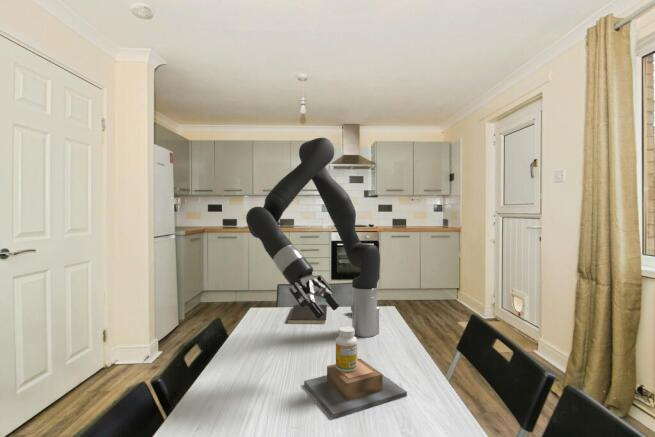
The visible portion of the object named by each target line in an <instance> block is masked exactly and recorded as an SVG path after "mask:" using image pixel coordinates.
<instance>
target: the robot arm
mask: <svg viewBox="0 0 655 437" xmlns="http://www.w3.org/2000/svg"><path fill="white" fill-rule="evenodd" d="M298 156H299V159H300V163H299V165H297V166H296V167H295V168H294V169H293V170H291V171H290V172H289V173H287V174H286V175H285V176H284V177H282V178H281V179H280V180H279V181H278V182H277V183H276V185H274V187H273V188H272V189H271V190H270V192H268V194H267V195H266V197H265V199H264V204H263V206H254V207H251V208H250V209H249V210H248V211H247V213H246V216H245V222H246V224H247V227H248V230H249V233H250V234H251V235H252V236H253V237H254V238H256V239H259V241H261V243H262V246H263V248H264V250H265V251H266V253H267V255H268V256H269V257H270V259H271V260H272V262H274V264H275V266H276V267H277V269H278V270H279V272H280V273H281V274H282V276H283V277H284V278H285V280H286V281H287V282H288V283H289V285H290V287H289V289H288V290H289V292H290V293H291V295H292V296H293V297H294V299H295V300H296V302H297V303H298V305H300V306H301V307H304V306H306V307H307V308H310V310H311V311H312V312H313V313H314V315H315V316H316V317H317V318H318V319H319V318H321V317H322V316H323V315H324V311H323V310H322V309H321V307H320V306H319V305H320V304H318V302H317V301H316V300H315V296H317V297H318V298H319V297H321V298H322V299H324V300H325V302H326V303H327V305H328V306H329V307H330V309H332V310H333V311H336V310H337V309H338V308H339V307H340V304H339V302H338V301H337V300H336V299H335V297H334V296H333V295H332V294H333V292H334V289H333V288H332V286H331V285H330V284H329V283H328V282H327V280H326V279H325V278H324V277H323V275H321V274H319V275H318V276H317V277H315V276H314V275H313V272H314V268H313V266H312V265H311V264H310V263H309V262H308V260H307V259H306V258H305V256H304V255H303V254H302V252H301V251H300V250H299V249H298V248H297V247H296V246H295V245H294V244H293V243H292V242H291V240H290V239H289V237H287V236H286V234H284V232H283V231H282V229H281V227H280V226H279V224H278V223H279V221H280V220H281V217H282V215H283V213H284V212H285V211H286V210H287V209H288V207H289V206H290V205H291V203H292V202H293V201H294V200H295V199H296V198H297V196H298V195H299V194H300V193H301V191H302V190H303V189H304V188H305V187H306V185H308V183H310V181H311V180H312V181H311V182H313V184H314V186H315V188H316V190H317V192H318V194H319V196H320V198H321V200H322V202H323V204H324V206H325V208H326V211H327V213H328V215H329V217H330V219H331V221H332V223H333V225H334V227H335V229H336V232H337V234H338V236H339V238H340V240H341V242H342V243H341V244H342V245H343V246H342V247H343V248H344V252H345V254H346V257H347V259H348V262H349V263H350V265H352V267H354V268H359V269H360V273H359V276H358V277H357V276H356V277H354V278H353V279H352V281H351V284H352V286H351V289H352V290H351V294H352V295H351V296H352V297H351V298H352V299H351V306H352V311H351V317H352V318H351V321H352V323H351V327H353V328H354V329H355V334H354V336H356V337H357V336H358V337H360V338H361V337H362V338H364V337H365V338H368V337H369V338H370V337H374V336H376V335H377V334H380V307H379V306H378V282H379V278H380V267H381V264H380V263H381V254H380V251H379V250H380V249H379V248H378V247H377V246H376V245H374V244H371V243H370V244H368V243H362V241H361V240H360V238H359V236H358V233H357V231H356V220H357V219H356V217H357V212H356V209H355V206H354V204H353V202H352V200H351V197H350V195H349V193H348V192H347V191H346V189H344V188H343V187H342V186H341V185H340V184H339V183H338V182H337V181H336V180H335V179H334V178H333V177H332V176H331V174H330V172H329V171H328V169H327V167H326V166H328V165H329V164H330V163H331V162H332V161H333V159H334V157H335V147H334V144H333V143H332V141H331V140H330V139H328V138H326V137H317V138H313V139H311V140H308V141H306V142H304V143H303V142H302V144H301V145H300V146H299V149H298ZM301 298H302V299H301Z"/></svg>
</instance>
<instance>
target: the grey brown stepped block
mask: <svg viewBox="0 0 655 437" xmlns="http://www.w3.org/2000/svg"><path fill="white" fill-rule="evenodd" d="M303 384H304V386H305V387H306V388H307V390H308V391H309V392H310V393H311V394H312V396H313V397H315V399H316V401H317V402H319V404H320V405H321V406H322V407H323V408H324V410H326V411H327V413H328V414H329V416H330V417H332V419H333V420H334V419H337V418H338V419H339V418H341V417H344V416H347V415H350V414H353V413H357V412H360V411H363V410H366V409H370V408H372V407H376V406H379V405H382V404H385V403H388V402H393V401H396V400H398V399H401V398H404V397H407V396H408V391H406V389H404V388H403V387H401V386H400V385H398V384H397V383H395V382H394V381H393V380H391V379H390V378H388V377H387V376H385V375H384V374H383V373H381V372H380V371H379V370H377V369H376V368H375V367H373V366H371V365H370V364H369V363H368V362H366V361H364V359H362V358H357V369H356V370H354V371H351V372H342V371H340V370H338V369H337V368H336V363H334V364H329V365H327V366H326V374H325V375H321V376H318V377H313V378H311V379H310V378H309V379H306V380H304V381H303Z"/></svg>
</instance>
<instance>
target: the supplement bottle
mask: <svg viewBox="0 0 655 437" xmlns="http://www.w3.org/2000/svg"><path fill="white" fill-rule="evenodd" d="M354 334H355V329H354V328H353V327H352V326H347V325H346V326H340V327H339V328H338V336H337V337H336V338H335V364H336V368H337V369H338V370H340V371H342V372H351V371H354V370H356V369H357V359H358V339H357V336H355V335H354Z"/></svg>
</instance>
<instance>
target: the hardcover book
mask: <svg viewBox="0 0 655 437" xmlns="http://www.w3.org/2000/svg"><path fill="white" fill-rule="evenodd" d="M318 305H319V306H320V307H321V309H322V310H323V311H324V315H323V316H322V317H321V318H319V319H318V318H317V317H316V316H315V315H314V313H313V312H312V311H311V310H310V308H307V307H306V306H304V307H301V306H300V304H294V305H293V306H292V309H291V311H290V313H289V316H288V317H287V320H286V324H317V325H318V324H319V325H320V324H322V325H325V324H326V320H327V312H328V311H327V310H328V304H318Z"/></svg>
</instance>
